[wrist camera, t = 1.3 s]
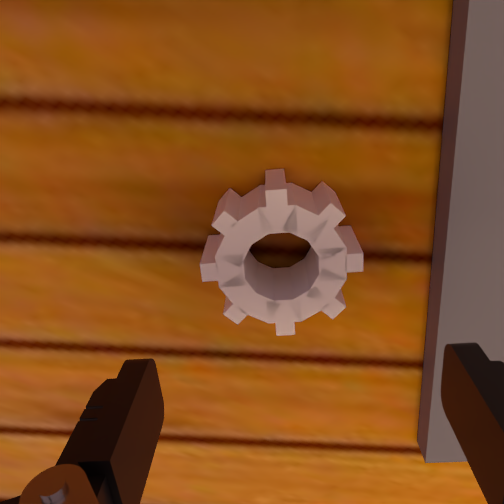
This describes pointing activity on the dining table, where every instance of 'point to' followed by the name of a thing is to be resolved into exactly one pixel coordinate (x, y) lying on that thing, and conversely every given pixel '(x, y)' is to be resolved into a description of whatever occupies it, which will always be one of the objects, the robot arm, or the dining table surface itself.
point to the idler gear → (288, 278)
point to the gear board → (467, 215)
